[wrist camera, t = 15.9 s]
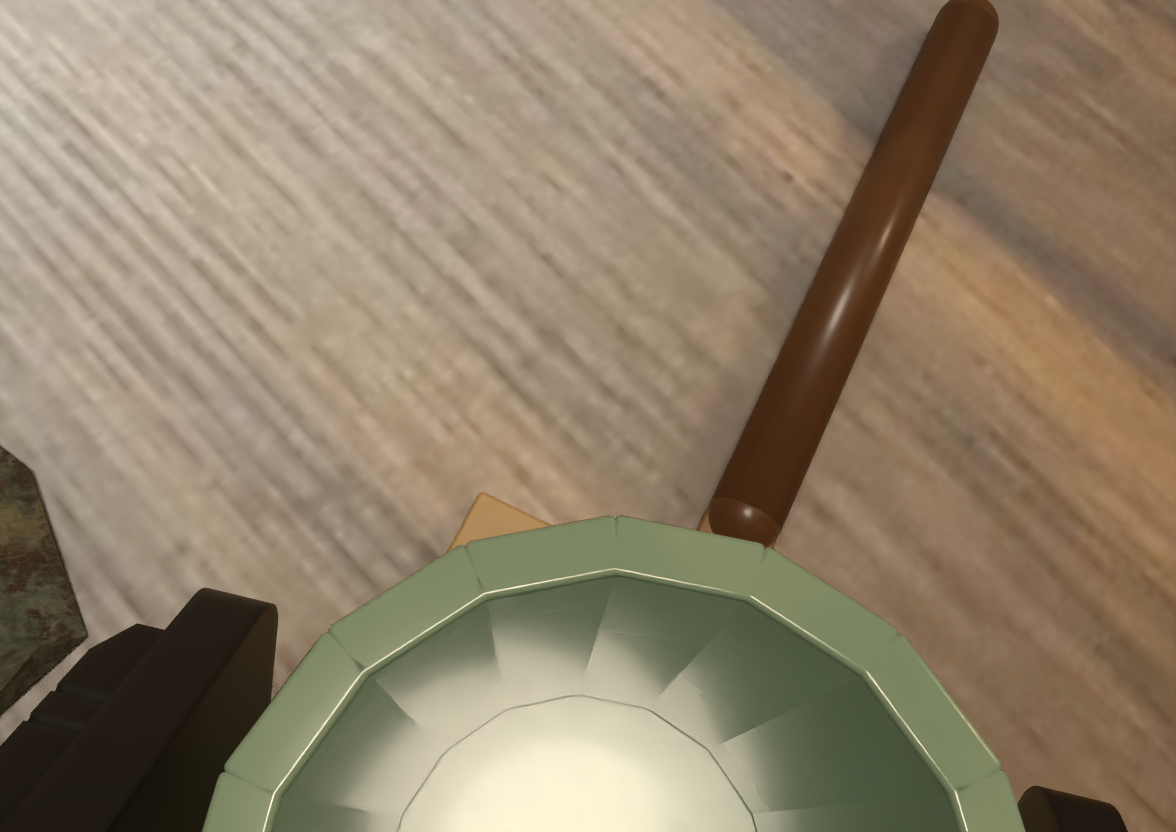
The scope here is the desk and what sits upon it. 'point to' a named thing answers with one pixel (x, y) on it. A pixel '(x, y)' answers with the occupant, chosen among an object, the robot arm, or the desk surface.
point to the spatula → (830, 294)
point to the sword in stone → (30, 587)
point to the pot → (613, 702)
